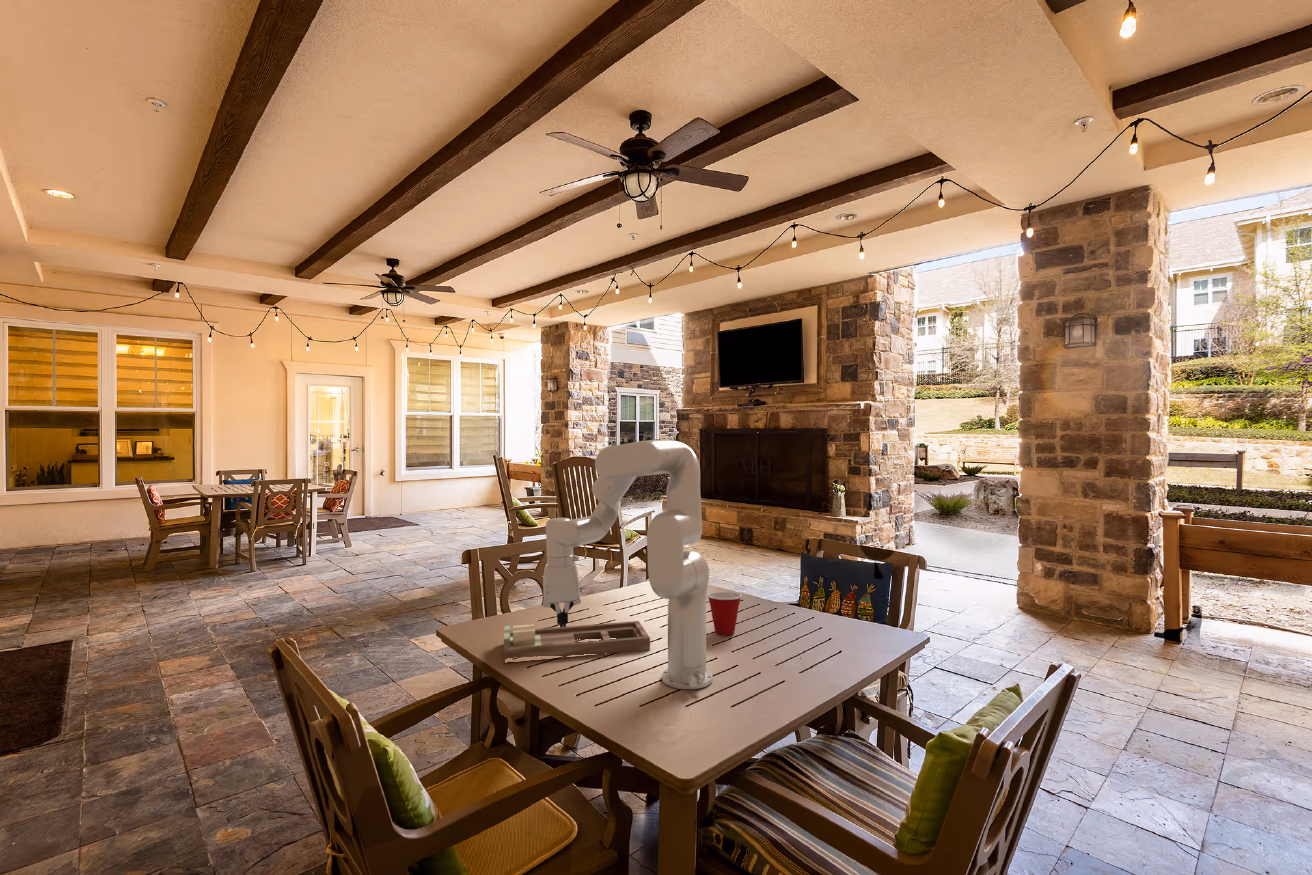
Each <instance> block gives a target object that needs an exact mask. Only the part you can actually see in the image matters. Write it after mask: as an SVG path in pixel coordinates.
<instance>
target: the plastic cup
mask: <svg viewBox="0 0 1312 875" xmlns="http://www.w3.org/2000/svg"><path fill="white" fill-rule="evenodd" d="M742 597H743V595H742V594H741V593H738V592H731V591H715V592H714V591H712V592H709V593H708V592H707V597H706V598H708V601H709V605H710V611H711V616H712V622H713V627H714V632H715V634H716V635H719V636H721V637H722V636H723V637H728V636H732V635H734V634H735V631H736V623H737V619H738V612H739V607H740V602H741V599H742Z"/></svg>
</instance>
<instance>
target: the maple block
mask: <svg viewBox="0 0 1312 875" xmlns="http://www.w3.org/2000/svg"><path fill="white" fill-rule="evenodd" d="M535 629H536V626H535V624H534V623H533V624H523V625H512V631H513V647H521V646H533V645H535Z"/></svg>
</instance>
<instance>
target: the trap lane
mask: <svg viewBox="0 0 1312 875" xmlns="http://www.w3.org/2000/svg"><path fill="white" fill-rule="evenodd" d="M503 630H504V633H503V660H504V659H507V658H514V657H533V656H534V657H535V656H536V657H537V656H569V655H570V656H571V655H584V654H605V653H607V654H605V655H609V654H608V653H616V654H621V653H620V652H626V653H635V652H646V651H650V650H651V636H649V634H648V633H647V631H646V630H645V628H644V627H643V625H642V624H641V623H640V621H639V620H634V621H622V622H621V621H620V622H610V623H609V622H608V623H607V622H605V623H597V624H595V623H594V624H582V625H571V626H566V627H562V628H560V626H558V627H548V628H547V627H546V628H545V627H544V628H535V645H533V646H521V647H513V630H511V623H510V624H509V623H508V624H504V629H503ZM610 638H616V639H610ZM577 639H578V640H579V639H601V640H599V641H588V642H575V640H577Z"/></svg>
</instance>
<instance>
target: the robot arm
mask: <svg viewBox="0 0 1312 875" xmlns="http://www.w3.org/2000/svg"><path fill="white" fill-rule="evenodd" d="M594 468H595V471H596V473H597V474H598V477H597V478H596V480H595V481H594V482H593V483H592V486H591V491H592V494H593V496H594V497H595V498H596V500H598V504H597V506H596V507H595V509H594V510H593V512H592V513H591V514H590V515H589V516H583V517H579V518H573V519H571V518H568V517H554V518H549V519H548V520H547V521H546V523H545V536H546V537H545V538H546V541H545V542H546V566H545V567H544V568H543V569H544V570H543V578H542V579H543V582H542V595H543V596H542V597H543V600H542V601H543V602H542V607H543V608H547V609H552V610H553V611H554V612H555V613H556V622H557V625H559V627H560V628H562V627H567V624H569V612H570V610H571V609H572V608H573V607H574V606H576V605H580V604H581V603H582V601H581V595H580V594H581V593H580V579H579V572H578V567H577V564H576V563H575V562H578V561H579V558H580V557H579V555H575V554H574V548H577V547H579V546H585V545H587V544H591V543H592V544H593V543H597V542H598V541H600V540H602V539H603V538H604V537H605V536H606V535H607V534H608V532H609V531H611V530H610V529H612V527H613V526H614V524H615V523H616V521H617V518H618V514H619V511H620V510H619V509H620V507H619V504H620V502H621V500H622V498H623V497H624V496H625V495H626V493H627V492H628V490H629V488H630V487H631V485H632V484H633V483H634V481H635V480H636V479H637V477H645V476H654V475H663V474H668V475H669V480H668V483H667V486H666V492H665V493H666V511H663V512H660V513H657V514H656V515H655V516H654V517H652V519H651V521H650V522H649V525H648V527H647V530H646V531H647V532H646V546H647V550H646V551H647V572H648V574H647V575H648V582H649V585H650V587H651V589H652V592H654V594H656V596H658V598H661V599H665V600H668V602H667V668H666V669H665V670H663V671H662V673H661V680H662V682H663V683H664V684H665V685H666V686H668V687H671V688H674V689H678V690H697V689H703V688H705V687H708V686H709V685H711V683H712V682H713V679H714V676H713V673H712V671H710V670H709V669H708V668H707V598H708V597H707V594H708V586H709V581H710V568H709V564H708V562H707V560H706V559H705V557H704V556H703V555H702V554H700V553H699V552H697V551H693V550H686V551H685V550H684V549H685V548H687V547H691V546H693V545H695V544H697V543H698V542H699V541H700V539H701V537H702V534H703V517H702V516H703V515H702V499H701V498H702V497H701V466H700V461H699V458H698V457H697V454H696V453H695V451H694V450H693V449H692V448H691V447H690V446H688V445H686V444H685V443H683V442H682V441H681V442H680V441H677V440H673V439H659V440H656V439H655V440H653V439H652V440H651V439H650V440H641V441H640V440H639V441H636V442H635V441H634V442H628V443H627V442H626V443H623V444H617V445H616V444H615V445H609V446H608V445H607V446H605V447H603V448H602V449H601V450H600V451H599V452H598V453H597V455H596V458H595V460H594ZM560 603H564V604H563V609H561V607H560Z"/></svg>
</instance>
